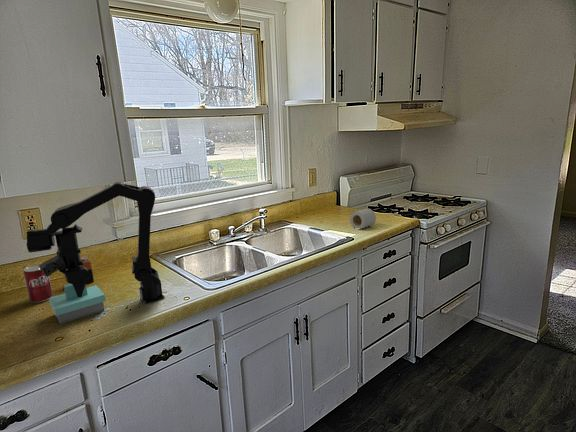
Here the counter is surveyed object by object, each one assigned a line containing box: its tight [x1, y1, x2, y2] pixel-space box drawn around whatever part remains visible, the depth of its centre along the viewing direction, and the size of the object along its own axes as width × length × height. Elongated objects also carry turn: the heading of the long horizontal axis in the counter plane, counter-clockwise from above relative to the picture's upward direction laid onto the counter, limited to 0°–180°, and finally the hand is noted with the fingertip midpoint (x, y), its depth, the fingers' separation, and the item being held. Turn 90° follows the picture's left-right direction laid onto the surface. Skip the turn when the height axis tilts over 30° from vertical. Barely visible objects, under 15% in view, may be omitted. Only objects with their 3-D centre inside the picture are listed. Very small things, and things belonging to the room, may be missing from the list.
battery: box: [79, 256, 95, 285], centre depth 150 cm, size 4×7×10 cm, turn 129°
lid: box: [48, 283, 106, 317], centre depth 125 cm, size 14×10×7 cm
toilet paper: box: [349, 208, 377, 230], centre depth 213 cm, size 10×10×10 cm
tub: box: [55, 302, 105, 325], centre depth 127 cm, size 13×9×5 cm
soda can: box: [22, 264, 54, 304], centre depth 137 cm, size 7×7×12 cm
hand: (76, 292), depth 125 cm, fingers open, 9 cm apart
